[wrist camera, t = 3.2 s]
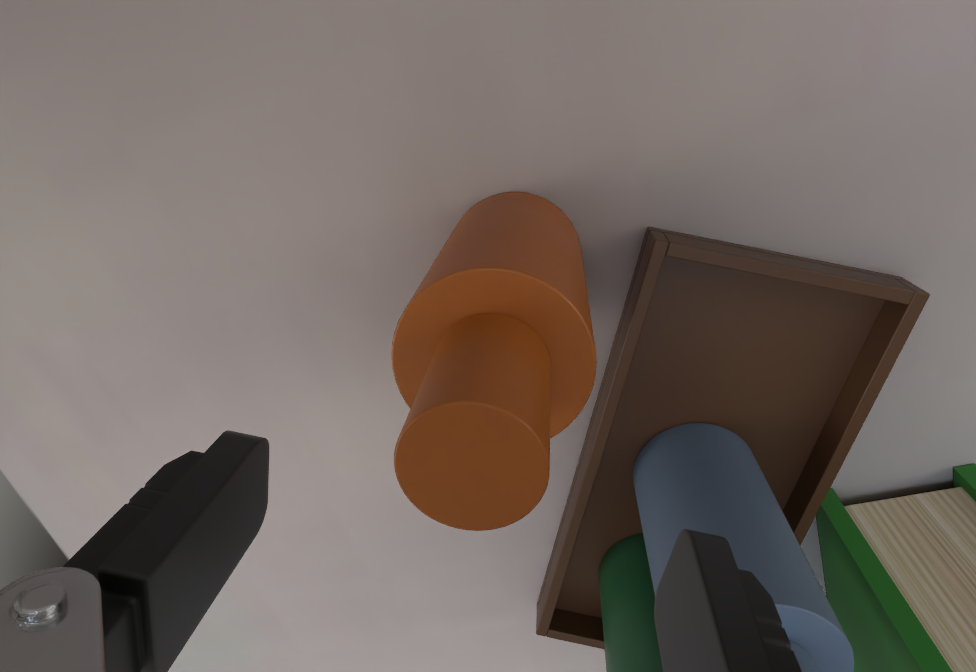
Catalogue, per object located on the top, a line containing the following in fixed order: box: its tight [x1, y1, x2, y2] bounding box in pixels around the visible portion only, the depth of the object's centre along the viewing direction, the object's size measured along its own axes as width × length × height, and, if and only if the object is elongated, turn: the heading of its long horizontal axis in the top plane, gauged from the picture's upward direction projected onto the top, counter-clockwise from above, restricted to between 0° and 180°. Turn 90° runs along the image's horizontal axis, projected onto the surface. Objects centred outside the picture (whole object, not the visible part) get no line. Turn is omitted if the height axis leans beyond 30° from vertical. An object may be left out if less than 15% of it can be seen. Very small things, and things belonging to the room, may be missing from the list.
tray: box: [536, 227, 930, 649], centre depth 30 cm, size 11×23×2 cm, turn 170°
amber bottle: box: [392, 192, 596, 531], centre depth 20 cm, size 6×6×16 cm
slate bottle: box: [633, 423, 854, 672], centre depth 23 cm, size 6×6×16 cm
